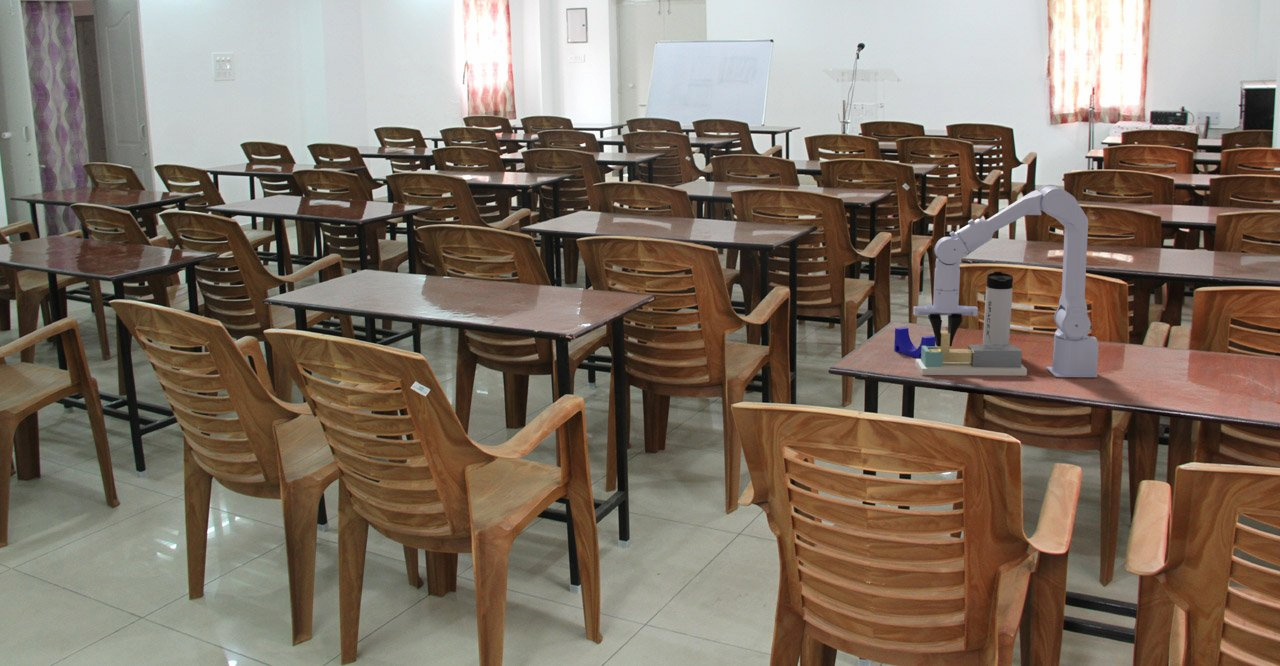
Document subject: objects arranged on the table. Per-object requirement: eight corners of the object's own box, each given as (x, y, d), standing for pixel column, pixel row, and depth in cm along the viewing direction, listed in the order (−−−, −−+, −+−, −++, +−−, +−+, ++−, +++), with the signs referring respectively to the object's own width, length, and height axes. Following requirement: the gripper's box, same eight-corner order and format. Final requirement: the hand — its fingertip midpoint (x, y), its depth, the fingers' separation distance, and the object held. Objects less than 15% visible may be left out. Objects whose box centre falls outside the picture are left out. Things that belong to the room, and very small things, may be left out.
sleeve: (1014, 360, 266) (1015, 344, 265) (1020, 367, 260) (1022, 350, 260) (967, 360, 267) (968, 344, 266) (972, 367, 261) (973, 350, 260)
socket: (937, 360, 267) (938, 345, 267) (942, 366, 262) (943, 351, 261) (920, 360, 268) (921, 345, 267) (925, 366, 262) (925, 351, 261)
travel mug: (1005, 348, 284) (1010, 271, 279) (1010, 355, 277) (1016, 276, 273) (979, 348, 284) (984, 271, 280) (985, 355, 278) (989, 276, 273)
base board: (1016, 365, 268) (1017, 359, 268) (1026, 375, 259) (1027, 369, 259) (915, 364, 270) (915, 358, 269) (921, 374, 261) (922, 368, 261)
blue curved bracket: (939, 359, 275) (940, 336, 273) (924, 362, 273) (925, 338, 272) (908, 349, 285) (909, 326, 284) (894, 351, 284) (895, 328, 282)
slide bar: (990, 359, 265) (992, 330, 264) (994, 363, 262) (996, 334, 260) (926, 358, 266) (927, 330, 265) (929, 362, 263) (930, 334, 261)
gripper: (974, 285, 264) (971, 341, 267) (912, 285, 265) (909, 341, 268) (981, 291, 257) (977, 348, 260) (917, 291, 258) (914, 348, 261)
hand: (943, 345), depth 264 cm, fingers closed on slide bar, 2 cm apart
